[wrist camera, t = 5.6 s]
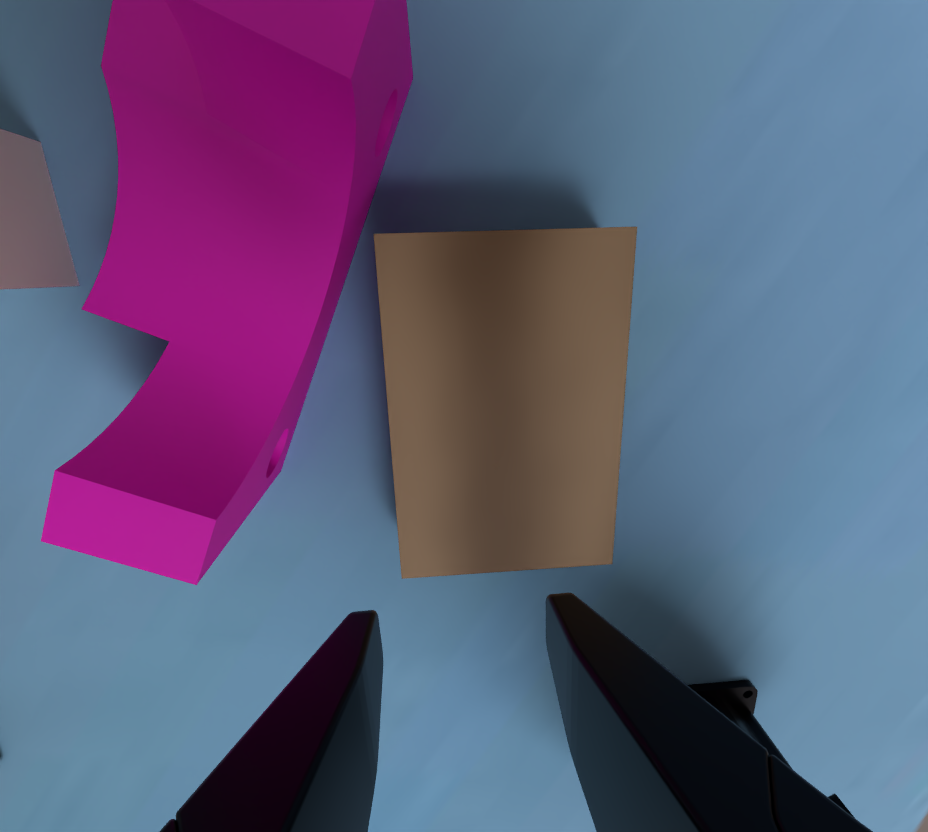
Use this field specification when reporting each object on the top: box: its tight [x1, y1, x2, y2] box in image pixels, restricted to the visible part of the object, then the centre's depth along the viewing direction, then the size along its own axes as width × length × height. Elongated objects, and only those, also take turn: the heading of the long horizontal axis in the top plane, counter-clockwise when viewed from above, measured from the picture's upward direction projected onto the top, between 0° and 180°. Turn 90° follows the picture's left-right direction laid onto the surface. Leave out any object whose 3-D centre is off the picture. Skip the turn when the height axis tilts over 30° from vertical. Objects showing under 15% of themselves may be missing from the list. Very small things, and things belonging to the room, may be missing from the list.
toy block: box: [41, 0, 413, 585], centre depth 13 cm, size 15×6×8 cm, turn 157°
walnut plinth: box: [374, 227, 637, 579], centre depth 17 cm, size 8×12×3 cm, turn 2°
